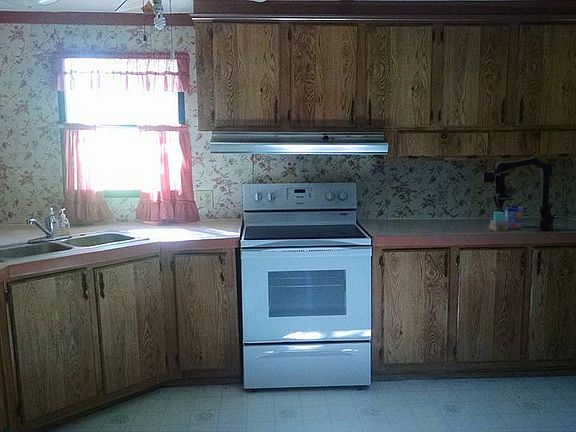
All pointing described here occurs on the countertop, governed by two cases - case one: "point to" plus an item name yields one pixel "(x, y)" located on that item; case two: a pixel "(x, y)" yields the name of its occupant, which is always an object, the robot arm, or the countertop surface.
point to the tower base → (498, 227)
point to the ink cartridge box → (514, 216)
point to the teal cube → (498, 216)
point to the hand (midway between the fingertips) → (498, 208)
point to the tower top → (498, 223)
